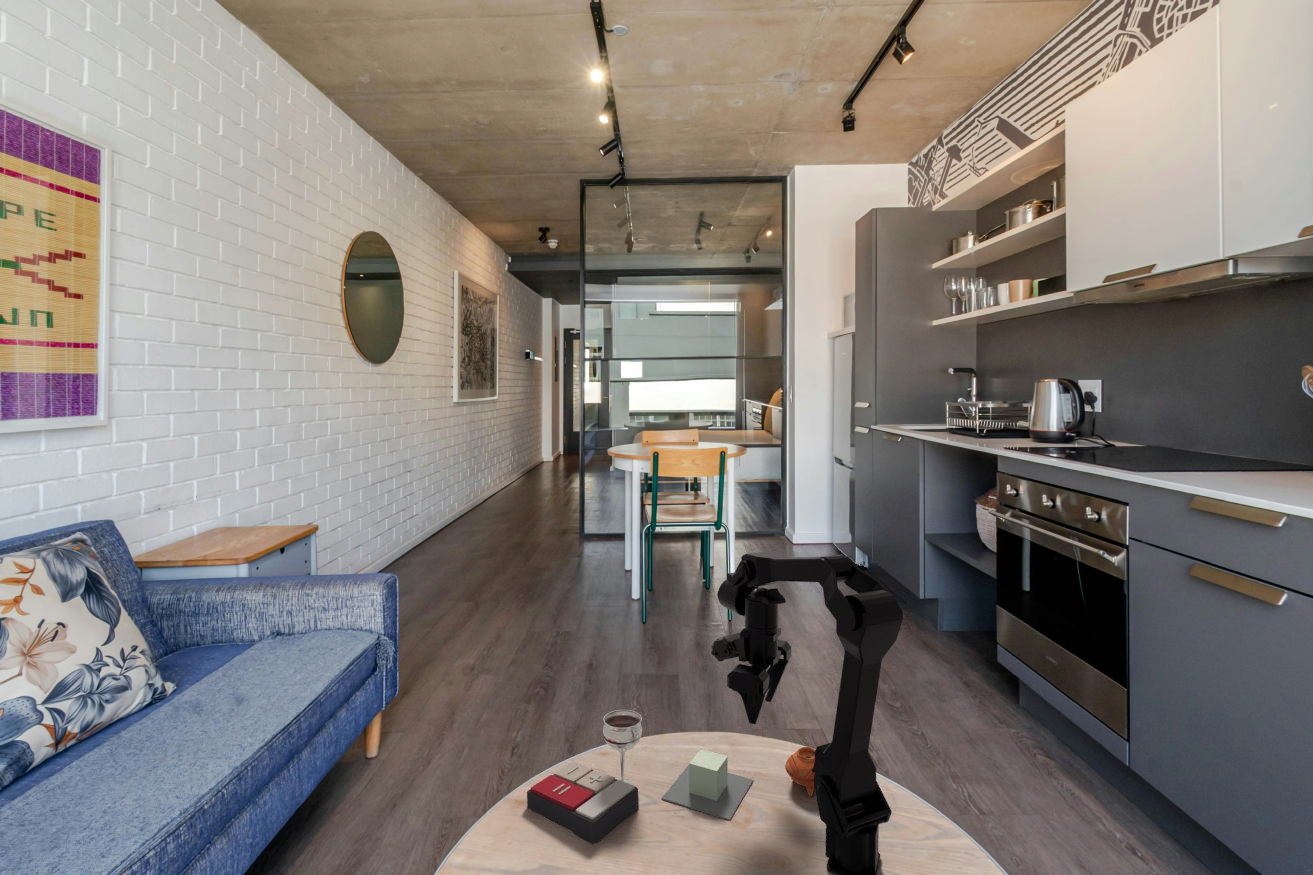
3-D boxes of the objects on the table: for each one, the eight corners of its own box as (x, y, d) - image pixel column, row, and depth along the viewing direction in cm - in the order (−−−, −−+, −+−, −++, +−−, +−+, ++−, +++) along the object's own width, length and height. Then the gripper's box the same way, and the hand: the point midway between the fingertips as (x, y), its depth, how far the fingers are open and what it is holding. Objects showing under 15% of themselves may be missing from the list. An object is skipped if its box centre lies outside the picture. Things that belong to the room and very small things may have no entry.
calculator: (573, 757, 109) (639, 782, 100) (574, 781, 109) (640, 809, 100) (525, 786, 100) (593, 817, 91) (526, 813, 100) (594, 846, 91)
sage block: (727, 784, 106) (727, 756, 105) (716, 800, 101) (717, 770, 101) (700, 777, 108) (700, 749, 108) (689, 792, 103) (689, 763, 103)
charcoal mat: (753, 780, 107) (753, 779, 107) (729, 820, 96) (729, 819, 96) (690, 763, 113) (690, 762, 113) (661, 799, 102) (661, 797, 102)
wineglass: (641, 799, 102) (641, 728, 101) (600, 799, 102) (600, 728, 101) (642, 776, 108) (643, 709, 108) (604, 775, 109) (604, 709, 108)
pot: (840, 799, 101) (831, 760, 101) (794, 807, 102) (784, 769, 102) (831, 770, 109) (823, 734, 109) (788, 778, 110) (779, 742, 110)
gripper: (735, 603, 119) (734, 682, 119) (698, 632, 102) (697, 724, 103) (792, 611, 114) (791, 694, 114) (762, 643, 97) (762, 740, 98)
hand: (760, 711), depth 107 cm, fingers open, 9 cm apart
